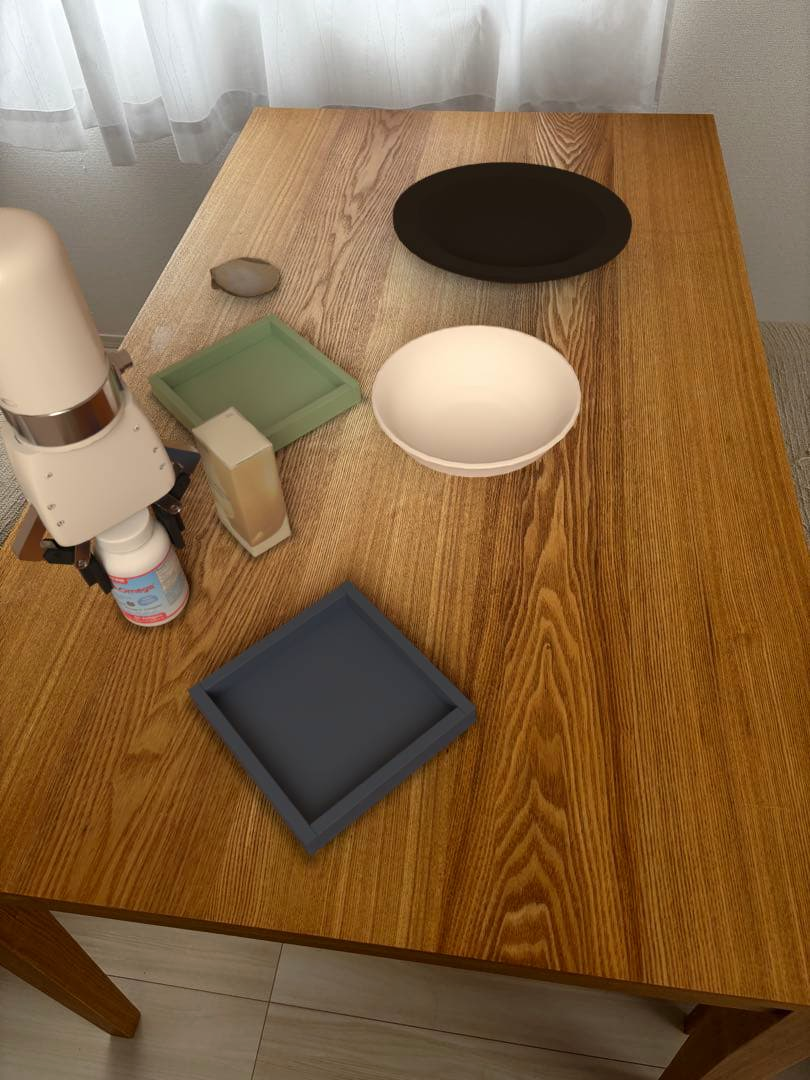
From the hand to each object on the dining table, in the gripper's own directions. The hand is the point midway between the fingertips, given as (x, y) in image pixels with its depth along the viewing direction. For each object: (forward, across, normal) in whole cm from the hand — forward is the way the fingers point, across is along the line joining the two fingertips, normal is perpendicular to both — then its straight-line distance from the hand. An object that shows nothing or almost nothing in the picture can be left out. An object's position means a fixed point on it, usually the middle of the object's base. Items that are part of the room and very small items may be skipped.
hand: (137, 558), depth 72 cm
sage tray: (+6, -21, -16) cm, 27 cm away
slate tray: (+6, -5, +19) cm, 21 cm away
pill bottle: (+6, 0, 0) cm, 6 cm away
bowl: (+6, -34, +4) cm, 35 cm away
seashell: (+6, -31, -33) cm, 46 cm away
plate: (+6, -58, -16) cm, 61 cm away
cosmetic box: (+6, -11, -1) cm, 13 cm away
